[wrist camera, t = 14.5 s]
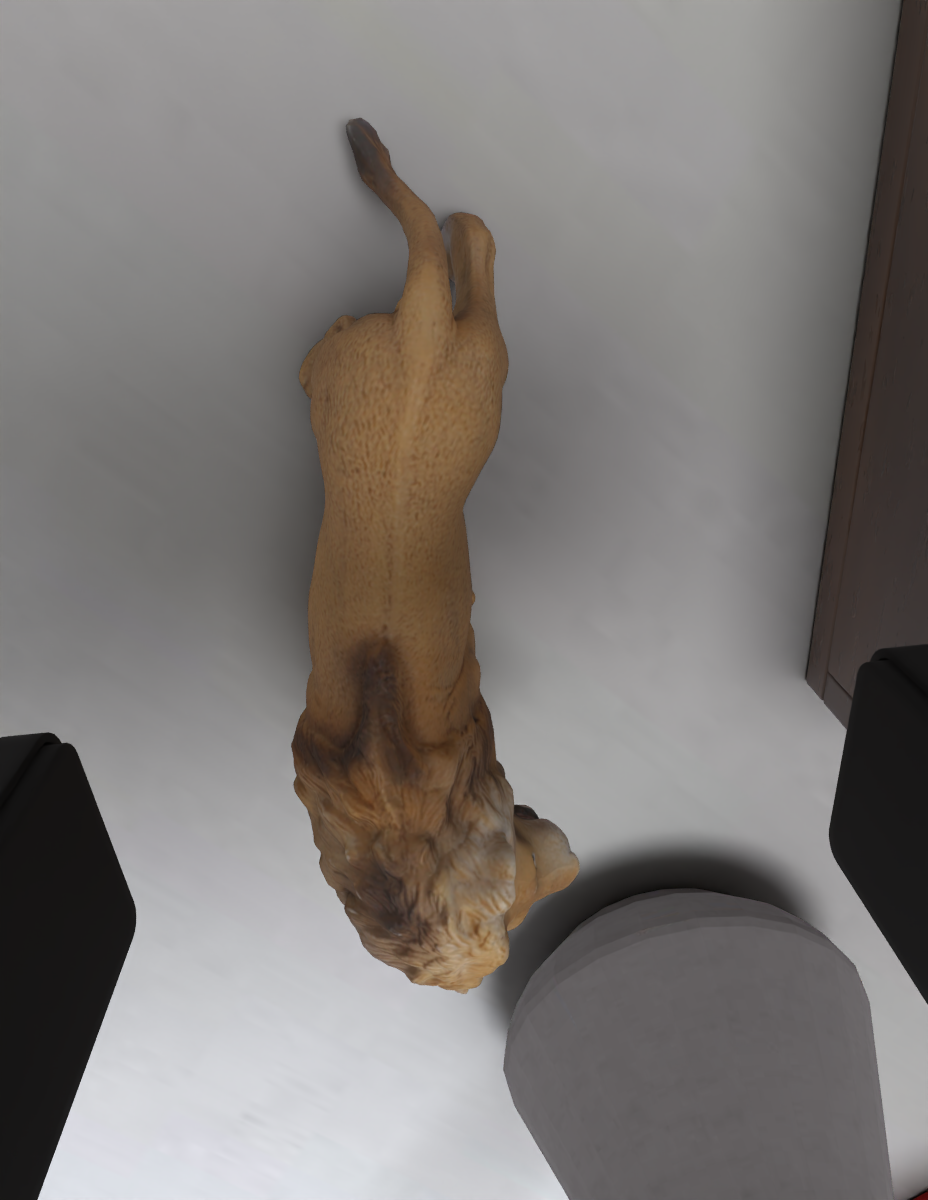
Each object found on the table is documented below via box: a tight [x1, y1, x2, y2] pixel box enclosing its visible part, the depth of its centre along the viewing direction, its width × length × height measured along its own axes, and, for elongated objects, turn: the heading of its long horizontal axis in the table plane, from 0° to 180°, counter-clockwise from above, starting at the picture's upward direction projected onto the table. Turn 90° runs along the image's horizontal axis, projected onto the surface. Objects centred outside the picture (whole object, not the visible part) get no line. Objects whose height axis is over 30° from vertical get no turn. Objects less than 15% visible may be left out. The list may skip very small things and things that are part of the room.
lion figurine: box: [291, 118, 580, 994], centre depth 15 cm, size 15×5×9 cm, turn 6°
